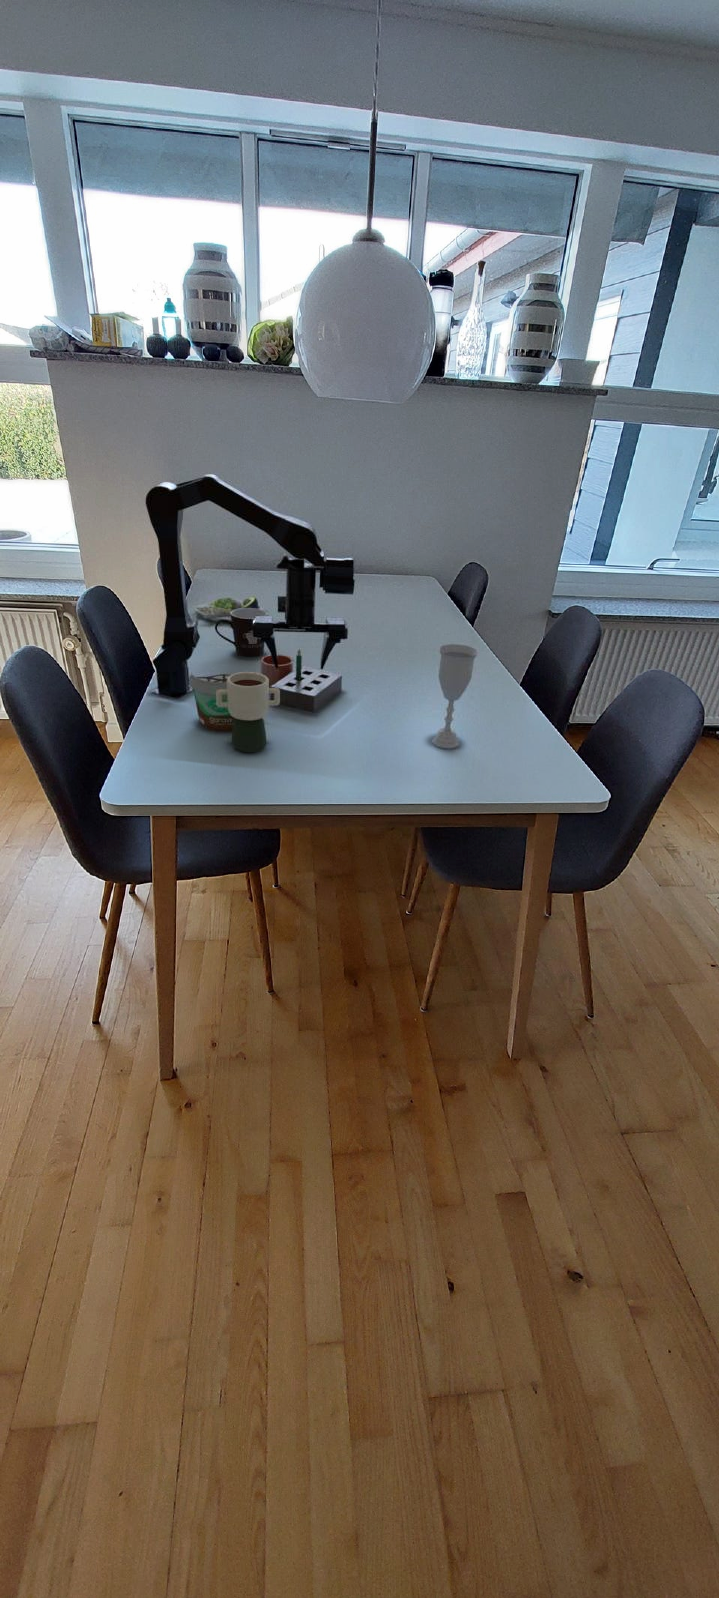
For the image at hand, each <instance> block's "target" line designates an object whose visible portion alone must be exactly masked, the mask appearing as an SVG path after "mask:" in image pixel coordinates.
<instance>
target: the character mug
mask: <svg viewBox="0 0 719 1598" xmlns="http://www.w3.org/2000/svg"><path fill="white" fill-rule="evenodd" d="M229 675H230V676H229V677H228V679H227V689H219V690H217V691H216V704H217V707H220V708H221V707H228V710H229V712H230V714H231V716H233V717H234V718H235V719H234V722H233V731H231V745H232V747H233V748H234V749H236V750H238V751H241V752H244V753H256V752H258V751H260V750H263V749H264V748H265V747H267V743H268V740H267V732H266V726H265V721H264V718H265V717H266V716H267V715H268V713H269V710H270V707H276V706H280V705H279V703H280V690H279V689H278V688H271V687H270V686H269V679H268V678H267V677H266V676H265V675H262V674H261V672H260V673H259V672H256V671H255V672H254V671H253V672H252V671H241V672H240V671H239V672H235V673H232V674H229ZM271 693H274V700H273V701H271V700H270V694H271ZM222 695H227V699H228V702H222Z"/></svg>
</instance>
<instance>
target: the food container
mask: <svg viewBox="0 0 719 1598" xmlns="http://www.w3.org/2000/svg"><path fill="white" fill-rule="evenodd" d="M251 672H254V671H253V670H251ZM230 675H231V674H226V673H224V674H223V673H221V674H214V675H208V676H194V675H193V673H192V672H190V675H189V686H190V687H192V689H194V690H193V695H194V701H195V705H196V711H197V716H198V722H199V725H200V726H202V727H203V728H205V729H207V730H209V731H213V732H222V733H223V732H224V733H225V732H226V733H227V732H232V731H233V722H234V719H235V718H234V717H233V716H231V714H230V712H229V710H228V707H221V708H220V707H217V704H216V691H217V690H219V689H227V679H228V677H229V676H230ZM222 702H228V699H227V695H222Z"/></svg>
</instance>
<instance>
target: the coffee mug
mask: <svg viewBox="0 0 719 1598" xmlns="http://www.w3.org/2000/svg"><path fill="white" fill-rule="evenodd" d="M266 611H267V610H266ZM266 611H265V610H264V609H263V610H261V609H255V608H240V609H235V610H233V611H231V612H230V615H231V621H229V620H226V619H222V620H219V621H218V622H215V625H214V630H215V633H216V634H217V635H218V636H219V637H220V638H222V639H223V640H224V641H227V642H229V643H230V644H232V645H233V646H234V648H235V653H236V655H237V656H239V657H243V658H258V657H261V656H263V655H264V651H265V644H266V643H265V642H261V641H260V638H256V637H253V618H254V617H255V616H269V615H268V614H269V613H268V612H266ZM221 623H227V624H228V625H229V626H230V628H231V629H232V634H233V640H232V639H230V638H228V637H226V636H224V635H223V634H221V633H220V632H219V629H218V626H219V624H221Z"/></svg>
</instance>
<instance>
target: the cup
mask: <svg viewBox="0 0 719 1598" xmlns="http://www.w3.org/2000/svg"><path fill="white" fill-rule="evenodd" d="M277 658H278V669H276V667H275V664H274V662H273V659H272V656H271V654H268V655H264V656H262V657H261V658H260V674H262V675H265V676H266V677H267V678H268V679H269V687H271V686H272V685H274V684H275V683H277V682H278V681H280V680H281V679H283V678H284V677H286V676H287V675H289V674H290V673H292V672H293V671H294V659H293V658H292V657H291V656H288V655H284V654H277Z"/></svg>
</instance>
